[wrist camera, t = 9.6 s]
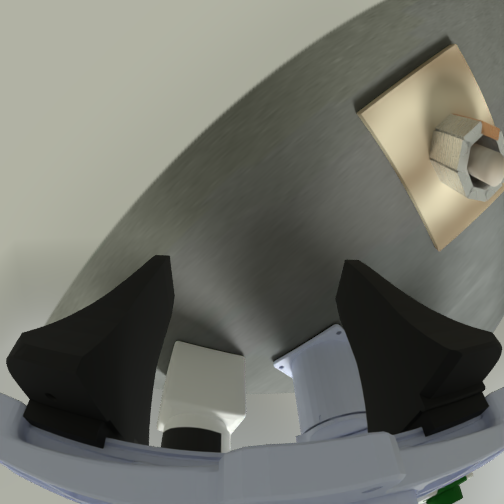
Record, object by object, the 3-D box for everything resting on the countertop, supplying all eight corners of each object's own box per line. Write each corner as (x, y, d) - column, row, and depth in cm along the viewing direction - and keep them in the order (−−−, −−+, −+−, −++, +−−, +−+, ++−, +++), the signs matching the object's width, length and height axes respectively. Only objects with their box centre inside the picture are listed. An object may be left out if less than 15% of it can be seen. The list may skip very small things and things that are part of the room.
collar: (472, 188, 19) (497, 204, 16) (424, 179, 18) (451, 195, 15) (483, 125, 16) (512, 135, 13) (435, 107, 16) (465, 113, 13)
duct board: (506, 179, 19) (544, 201, 14) (434, 247, 22) (467, 282, 18) (450, 44, 14) (497, 42, 9) (356, 113, 17) (394, 121, 12)
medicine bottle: (165, 377, 30) (149, 472, 19) (175, 338, 27) (155, 452, 16) (225, 390, 31) (224, 484, 21) (245, 355, 28) (249, 466, 18)
